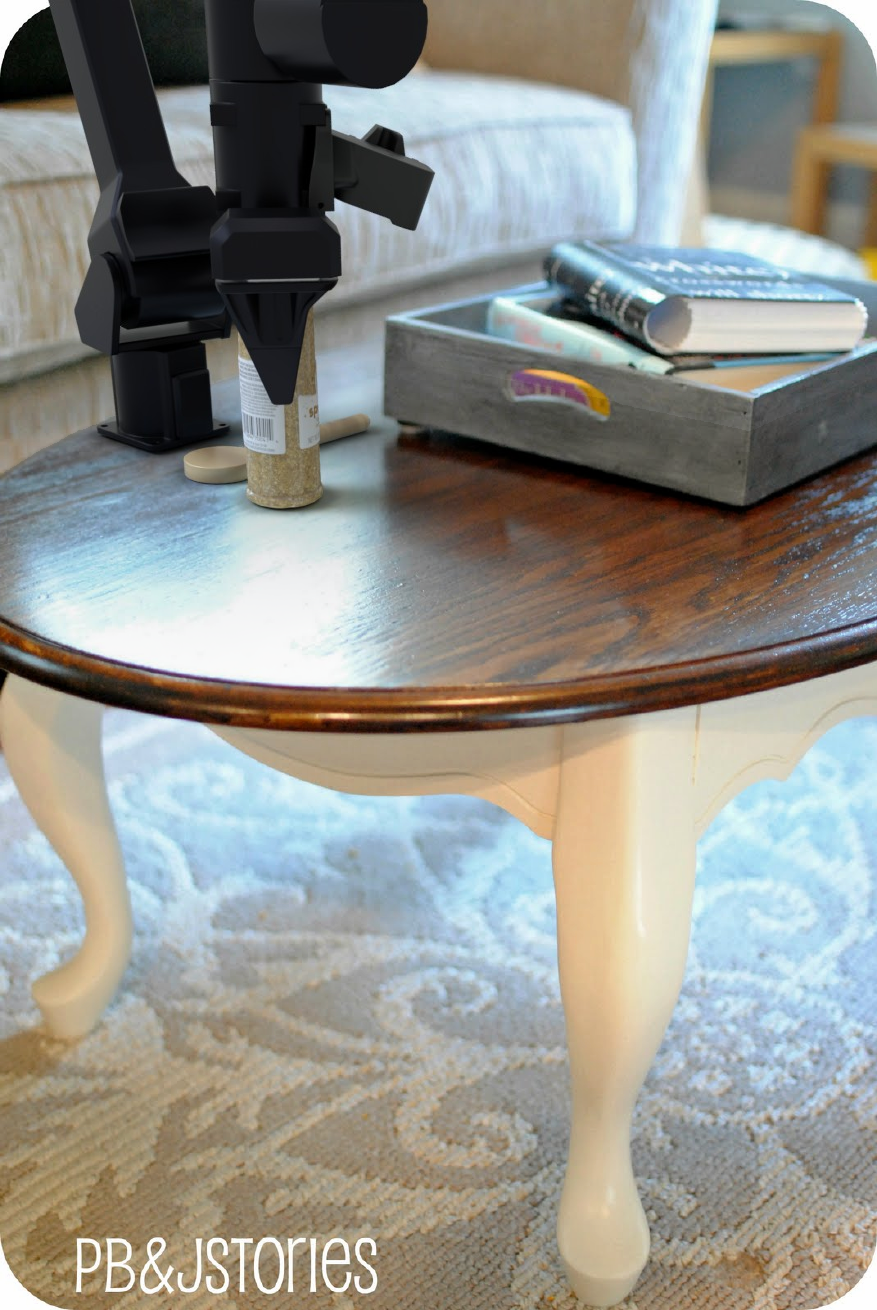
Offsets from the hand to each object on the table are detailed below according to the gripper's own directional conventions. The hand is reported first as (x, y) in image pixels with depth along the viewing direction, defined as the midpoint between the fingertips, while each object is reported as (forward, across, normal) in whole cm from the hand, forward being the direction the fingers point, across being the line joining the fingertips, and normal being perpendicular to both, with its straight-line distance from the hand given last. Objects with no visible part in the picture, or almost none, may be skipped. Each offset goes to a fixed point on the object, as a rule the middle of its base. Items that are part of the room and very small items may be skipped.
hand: (280, 382), depth 76 cm
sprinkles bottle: (+7, 0, 0) cm, 7 cm away
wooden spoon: (+7, +8, 0) cm, 11 cm away
